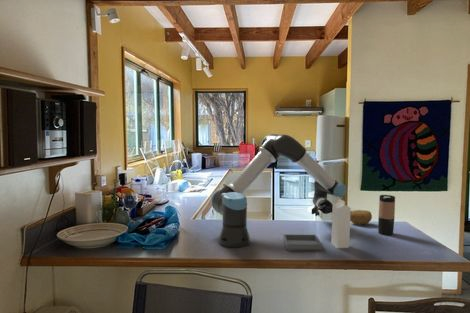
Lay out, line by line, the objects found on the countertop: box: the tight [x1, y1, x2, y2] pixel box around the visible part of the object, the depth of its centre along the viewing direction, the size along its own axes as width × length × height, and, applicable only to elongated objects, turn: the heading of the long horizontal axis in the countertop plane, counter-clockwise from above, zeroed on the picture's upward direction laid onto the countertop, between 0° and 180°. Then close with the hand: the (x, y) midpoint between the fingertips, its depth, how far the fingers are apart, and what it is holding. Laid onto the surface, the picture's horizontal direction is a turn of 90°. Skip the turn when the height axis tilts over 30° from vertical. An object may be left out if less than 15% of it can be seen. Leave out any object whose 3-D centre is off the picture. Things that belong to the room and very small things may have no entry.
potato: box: [350, 209, 373, 225], centre depth 188 cm, size 10×14×8 cm
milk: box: [330, 198, 352, 249], centre depth 151 cm, size 6×6×22 cm
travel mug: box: [377, 194, 396, 236], centre depth 170 cm, size 8×8×20 cm
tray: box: [282, 233, 324, 252], centre depth 152 cm, size 16×14×3 cm
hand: (335, 215), depth 160 cm, fingers open, 13 cm apart
